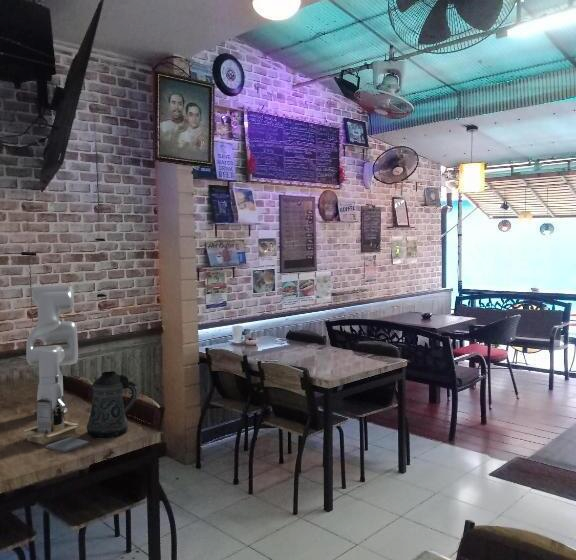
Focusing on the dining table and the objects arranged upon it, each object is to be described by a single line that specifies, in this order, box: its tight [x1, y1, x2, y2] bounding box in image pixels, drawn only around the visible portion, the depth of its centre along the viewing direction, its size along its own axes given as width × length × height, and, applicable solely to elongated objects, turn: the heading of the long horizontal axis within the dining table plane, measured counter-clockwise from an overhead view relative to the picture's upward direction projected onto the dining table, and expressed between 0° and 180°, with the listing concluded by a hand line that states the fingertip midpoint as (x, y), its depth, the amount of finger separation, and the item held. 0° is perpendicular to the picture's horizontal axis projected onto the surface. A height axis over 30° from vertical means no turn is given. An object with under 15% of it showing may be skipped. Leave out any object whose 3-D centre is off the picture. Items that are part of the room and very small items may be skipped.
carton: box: [22, 420, 80, 446], centre depth 226 cm, size 16×19×4 cm
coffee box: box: [35, 395, 65, 434], centre depth 226 cm, size 9×6×16 cm
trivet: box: [45, 436, 90, 453], centre depth 216 cm, size 11×11×1 cm
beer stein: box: [86, 371, 138, 439], centre depth 232 cm, size 16×19×25 cm
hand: (51, 422), depth 226 cm, fingers closed on coffee box, 7 cm apart
